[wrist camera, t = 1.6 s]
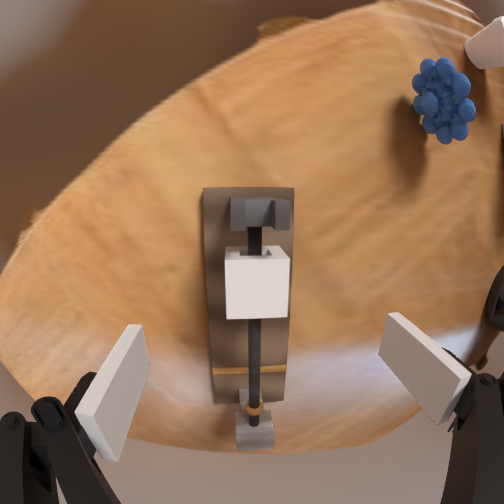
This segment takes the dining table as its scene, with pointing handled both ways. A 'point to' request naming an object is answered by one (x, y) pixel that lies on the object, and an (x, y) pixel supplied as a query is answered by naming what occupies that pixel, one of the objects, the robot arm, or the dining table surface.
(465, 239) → the dining table surface
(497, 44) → the foam cup
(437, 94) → the blue knobbed wheel
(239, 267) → the sleeve
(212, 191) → the sliding block rail
